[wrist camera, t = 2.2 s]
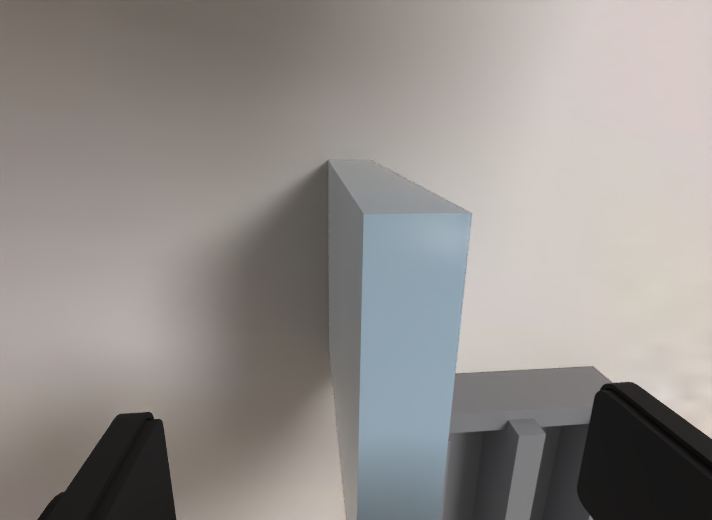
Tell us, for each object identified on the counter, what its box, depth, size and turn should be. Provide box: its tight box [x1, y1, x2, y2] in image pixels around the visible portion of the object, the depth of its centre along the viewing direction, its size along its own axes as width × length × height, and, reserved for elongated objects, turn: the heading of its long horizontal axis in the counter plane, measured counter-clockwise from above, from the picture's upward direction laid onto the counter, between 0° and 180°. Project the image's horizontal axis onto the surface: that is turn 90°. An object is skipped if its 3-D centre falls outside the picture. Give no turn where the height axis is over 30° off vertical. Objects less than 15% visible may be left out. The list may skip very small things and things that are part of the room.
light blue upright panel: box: [328, 160, 472, 520], centre depth 13 cm, size 9×2×11 cm, turn 0°
